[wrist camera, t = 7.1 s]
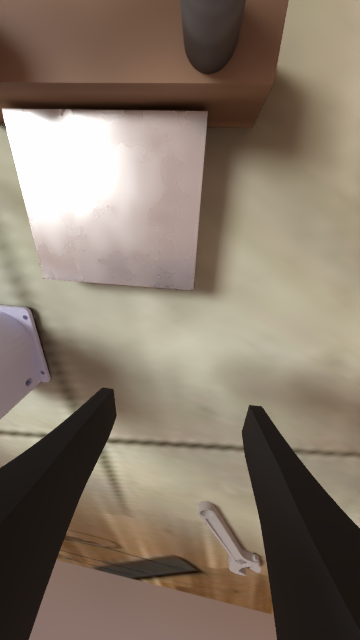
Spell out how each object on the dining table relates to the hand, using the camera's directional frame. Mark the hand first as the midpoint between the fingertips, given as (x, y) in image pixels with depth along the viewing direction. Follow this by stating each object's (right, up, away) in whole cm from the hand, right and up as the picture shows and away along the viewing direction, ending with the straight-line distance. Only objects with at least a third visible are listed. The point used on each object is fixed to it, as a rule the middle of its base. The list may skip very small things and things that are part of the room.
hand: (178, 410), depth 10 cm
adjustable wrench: (+10, -35, +26) cm, 45 cm away
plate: (-4, +13, +5) cm, 15 cm away
